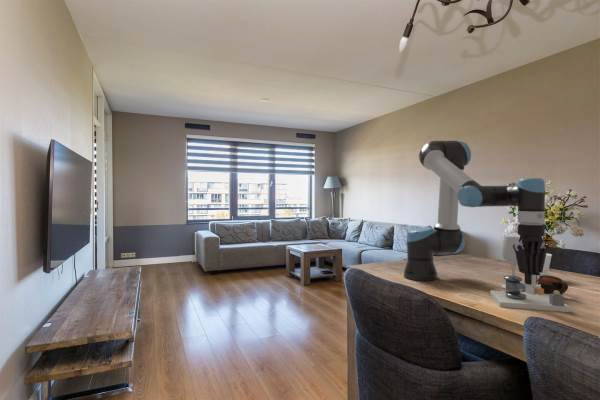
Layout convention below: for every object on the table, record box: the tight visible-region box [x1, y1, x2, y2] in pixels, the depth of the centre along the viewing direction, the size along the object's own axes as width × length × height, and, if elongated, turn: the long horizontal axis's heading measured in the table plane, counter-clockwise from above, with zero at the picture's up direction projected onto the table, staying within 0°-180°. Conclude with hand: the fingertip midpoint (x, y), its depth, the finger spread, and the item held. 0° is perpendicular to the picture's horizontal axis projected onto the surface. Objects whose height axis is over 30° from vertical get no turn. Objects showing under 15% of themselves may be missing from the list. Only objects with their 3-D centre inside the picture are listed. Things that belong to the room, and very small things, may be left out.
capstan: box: [503, 274, 544, 299], centre depth 115 cm, size 14×6×7 cm, turn 12°
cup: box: [537, 252, 553, 280], centre depth 152 cm, size 10×10×11 cm
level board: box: [489, 290, 571, 313], centre depth 117 cm, size 20×15×6 cm
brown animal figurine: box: [536, 274, 569, 296], centre depth 126 cm, size 12×10×8 cm
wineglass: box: [501, 236, 525, 292], centre depth 135 cm, size 9×9×21 cm
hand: (530, 293), depth 111 cm, fingers closed
